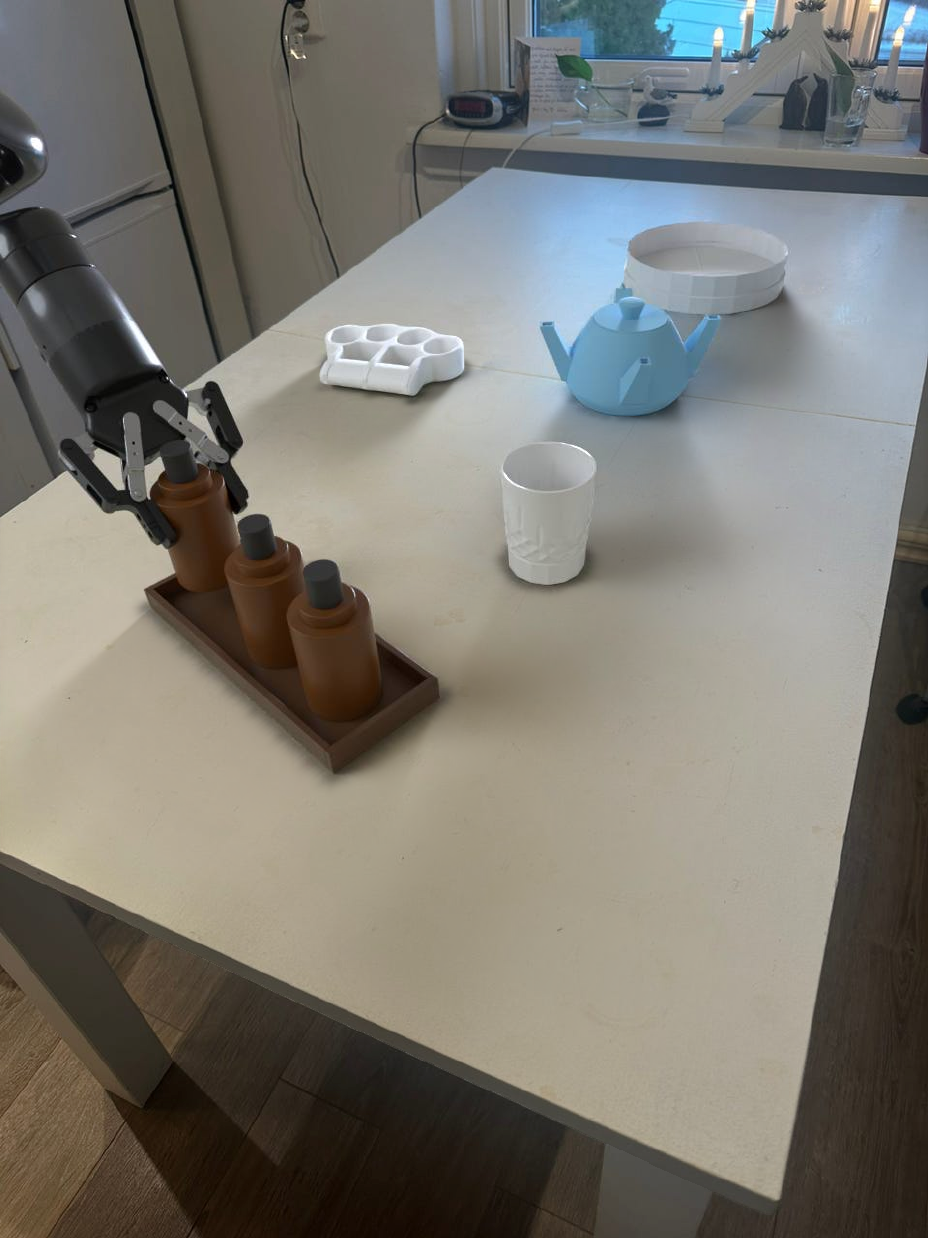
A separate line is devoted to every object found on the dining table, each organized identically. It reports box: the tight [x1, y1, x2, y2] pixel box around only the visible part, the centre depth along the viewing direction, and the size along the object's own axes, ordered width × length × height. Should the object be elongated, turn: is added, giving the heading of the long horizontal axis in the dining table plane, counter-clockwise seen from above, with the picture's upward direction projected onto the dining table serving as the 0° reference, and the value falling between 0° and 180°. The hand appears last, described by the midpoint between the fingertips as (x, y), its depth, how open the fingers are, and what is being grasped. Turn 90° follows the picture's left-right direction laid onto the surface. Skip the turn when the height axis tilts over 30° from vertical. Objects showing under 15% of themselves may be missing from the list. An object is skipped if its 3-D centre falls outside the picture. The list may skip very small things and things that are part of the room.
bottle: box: [149, 440, 241, 592], centre depth 70 cm, size 6×6×12 cm
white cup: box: [499, 441, 598, 586], centre depth 75 cm, size 8×8×10 cm
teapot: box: [539, 287, 723, 417], centre depth 98 cm, size 15×15×11 cm
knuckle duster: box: [319, 323, 465, 397], centre depth 107 cm, size 3×18×15 cm
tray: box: [143, 539, 440, 775], centre depth 70 cm, size 26×10×2 cm, turn 44°
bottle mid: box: [224, 513, 306, 669], centre depth 67 cm, size 6×6×12 cm
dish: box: [623, 221, 789, 316], centre depth 123 cm, size 22×22×5 cm
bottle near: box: [287, 558, 383, 722], centre depth 62 cm, size 6×6×12 cm
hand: (207, 526), depth 70 cm, fingers closed on bottle, 6 cm apart
